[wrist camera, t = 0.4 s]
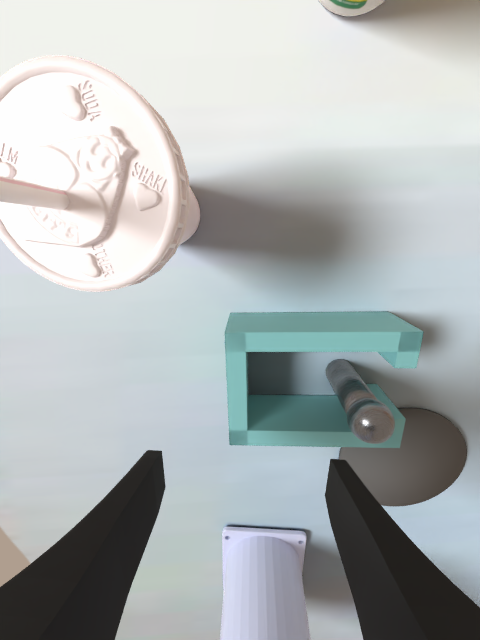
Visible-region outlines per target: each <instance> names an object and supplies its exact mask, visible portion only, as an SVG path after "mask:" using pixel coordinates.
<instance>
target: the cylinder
mask: <svg viewBox="0 0 480 640" xmlns="http://www.w3.org/2000/svg"><path fill="white" fill-rule="evenodd" d="M326 376H327V378H328V380H329V382H330V384H331V386H332V388H333V390H334V392H335V394H336V395H337V397H338V399H339V401H340V403H341V405H342V407H343V409H344V411H345V413H346V415H347V423H348V426H349V428H350V430H351V432H352V433H353V434H354V435H355V436H356V437H357V438H358V439H360V440H362V441H364V442H366V443H370V444H379V443H383V442H385V441H387V440H388V439H389V438H390V437H391V436H392V434H393V432H394V429H395V420H394V416H393V414H392V412H391V411H390V409H389V408H388V407H387V406H386V405H385V404H384V403H382V402H381V401H379V400H377V398H376V397H375V396H374V394H373V393H372V392H371V390H370V389H369V388H368V386H367V385H366V384H365V382H364V381H363V380H362V378H361V377H360V376H359V374H358V373H357V372H356V370H355V369H354V368H353V366H352V365H351V364H350V363H349V362H348V361H346V360H343V359H337V360H334V361H332V362H331V363H329V365H328V366H327V368H326Z"/></svg>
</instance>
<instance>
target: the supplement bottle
mask: <svg viewBox="0 0 480 640" xmlns="http://www.w3.org/2000/svg"><path fill="white" fill-rule="evenodd" d="M384 1H385V0H319V2H320V3H321V4H322V5H323V6H324V7H325V8H327V9H328V10H329V11H331V12H333V13H335V14H338V15H342V16H357V15H362V14H364V13H367V12H369V11H371V10H373V9H375V8H376V7H378V6H379V5H380V4H382V3H383V2H384Z"/></svg>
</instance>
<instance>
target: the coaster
mask: <svg viewBox="0 0 480 640" xmlns="http://www.w3.org/2000/svg"><path fill="white" fill-rule="evenodd" d="M398 410H399V411H400V413H401V414H402V415H403V416H404V417H405V419H406V420H405V425H404V430H403V435H402V440H401V445H400V448H367V447H341V449H340V453H339V459H340V460H346V461H347V462H348V463H349V465H350V466H351V467H352V469H353V470H354V472H355V473H356V474H357V476H358V477H359V478H360V479H361V481H362V482H363V483H364V485H365V486H366V487H367V489H368V490H369V491H370V492H371V494H372V495H373V496H374V497H375V499H376V500H377V501H378V502H379V504H380V505H383V506H407V505H412V504H416V503H420V502H423V501H426V500H429V499H431V498H433V497H435V496H437V495H438V494H440V493H442V492H443V491H444V490H446V489H447V488H448V487H449V486H450V485H451V484H453V483H454V481H455V480H456V479H457V478H458V476H459V475H460V473H461V472H462V470H463V467H464V465H465V461H466V456H467V449H466V443H465V440H464V438H463V436H462V434H461V433H460V431H459V430H458V429H457V428H456V427H455V426H454V425H453V424H452V423H451V422H450V421H449V420H448V419H446V418H445V417H443V416H441V415H439V414H437V413H435V412H432V411H429V410H425V409H419V408H399V409H398Z"/></svg>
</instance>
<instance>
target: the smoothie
mask: <svg viewBox="0 0 480 640" xmlns="http://www.w3.org/2000/svg"><path fill="white" fill-rule="evenodd" d="M199 222H200V207H199V204H198V201H197V199H196V197H195V195H194V194H193V192H192V190H191V188H190V186H189V179H188V174H187V170H186V167H185V163H184V160H183V157H182V153H181V150H180V147H179V145H178V143H177V142H176V140H175V138H174V136H173V134H172V133H171V131H170V129H169V127H168V126H167V124H166V122H165V120H164V119H163V118H162V117H161V116H160V114H159V113H158V112H157V111H156V110H155V109H154V108H153V107H152V106H151V105H150V104H149V103H148V102H147V101H146V99H145V98H144V97H143V96H142V95H140V94H139V93H138V92H137V91H136V90H135V89H134V88H133V87H132V86H130V85H129V84H128V83H127V82H126V81H125V80H123V79H122V78H120V77H119V76H118V75H116V74H115V73H113V72H111V71H110V70H108V69H106V68H104V67H103V66H100V65H98V64H96V63H94V62H91V61H88V60H85V59H82V58H77V57H72V56H63V55H50V56H42V57H37V58H33V59H30V60H27V61H24V62H22V63H20V64H18V65H16V66H14V67H13V68H11V69H10V70H9V71H7V72H6V73H5V74H3V75H2V76H1V77H0V238H1V239H2V240H3V242H4V243H5V244H6V245H7V247H8V248H9V249H10V250H11V251H12V252H13V253H14V254H15V255H16V256H17V257H18V258H19V259H20V260H21V261H22V262H23V263H24V264H26V265H27V266H28V267H29V268H31V269H32V270H34V271H35V272H36V273H38V274H39V275H41V276H43V277H45V278H46V279H48V280H50V281H52V282H55V283H57V284H59V285H62V286H65V287H68V288H72V289H76V290H81V291H90V292H102V291H111V290H115V289H119V288H123V287H126V286H130V285H134V284H137V283H141V282H142V281H144V280H146V279H147V278H149V277H150V276H152V275H154V274H155V273H157V272H158V271H160V270H161V269H162V267H163V266H164V265H165V264H166V263H167V262H168V261H169V259H170V258H171V257H172V256H173V255H174V254H175V252H176V250H177V248H178V246H179V245H181V244H182V243H183V242H185V241H186V240H188V239H189V238H190V237H191V236H192V235H193V234H194V233H195V232H196V230H197V228H198V226H199Z"/></svg>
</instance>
